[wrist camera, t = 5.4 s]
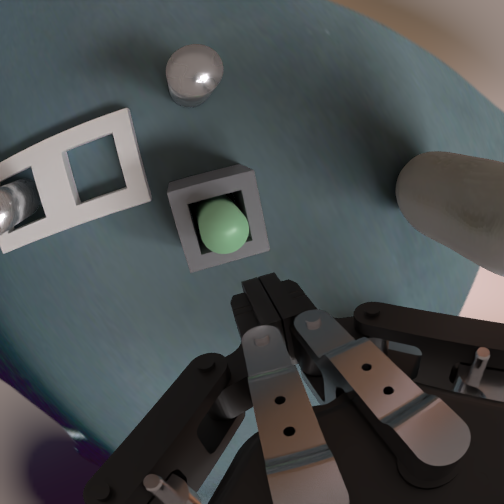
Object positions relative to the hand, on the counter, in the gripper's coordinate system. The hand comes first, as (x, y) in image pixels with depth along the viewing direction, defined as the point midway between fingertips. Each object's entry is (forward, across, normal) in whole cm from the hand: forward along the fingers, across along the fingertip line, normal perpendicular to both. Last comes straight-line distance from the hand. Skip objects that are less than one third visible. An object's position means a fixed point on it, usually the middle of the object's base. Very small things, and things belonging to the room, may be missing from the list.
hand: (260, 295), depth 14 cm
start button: (+16, 0, 0) cm, 16 cm away
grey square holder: (+18, 0, 0) cm, 18 cm away
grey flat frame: (+18, +15, -7) cm, 24 cm away
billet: (+18, 0, -12) cm, 22 cm away
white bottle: (+19, -24, +3) cm, 31 cm away
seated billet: (+18, +19, -7) cm, 27 cm away
